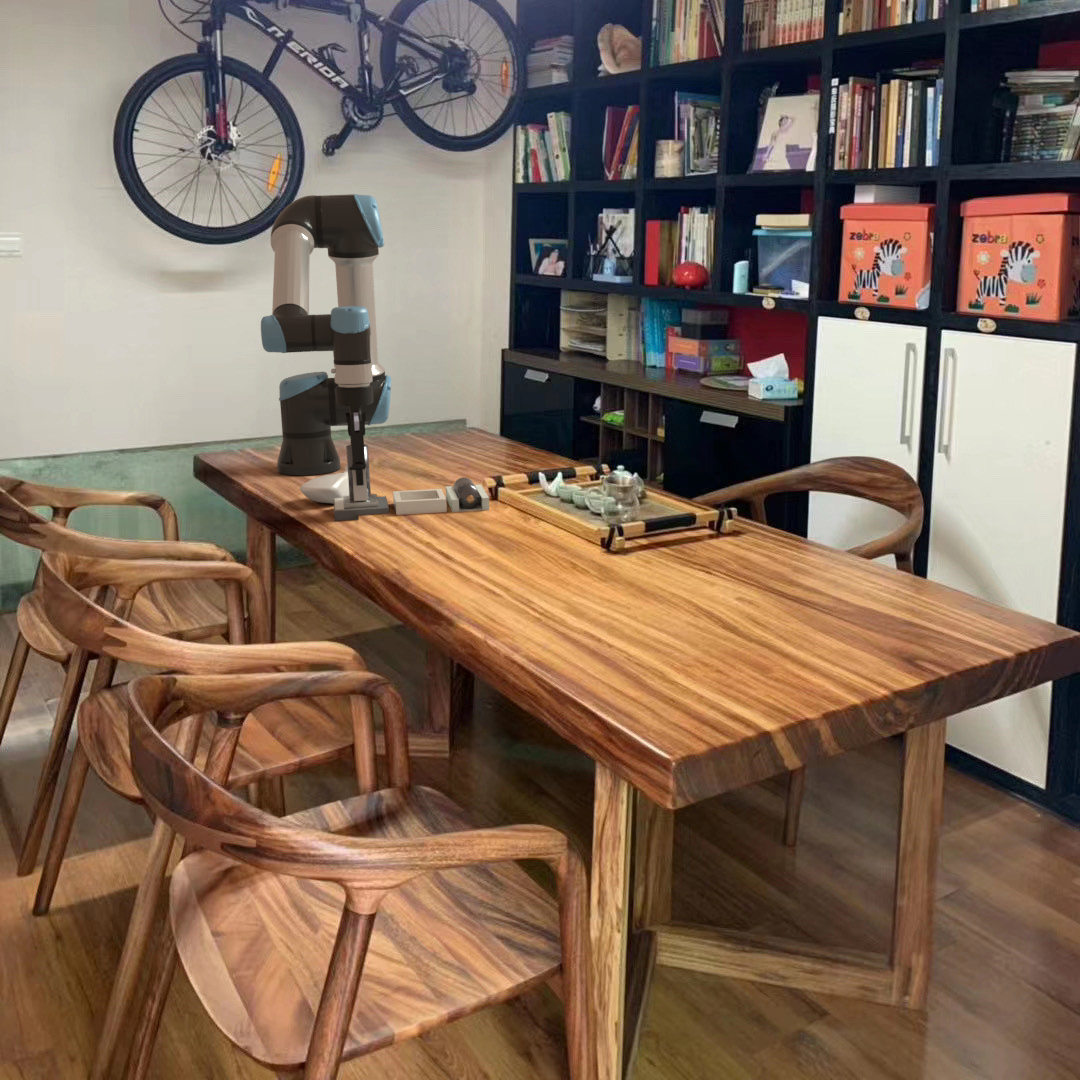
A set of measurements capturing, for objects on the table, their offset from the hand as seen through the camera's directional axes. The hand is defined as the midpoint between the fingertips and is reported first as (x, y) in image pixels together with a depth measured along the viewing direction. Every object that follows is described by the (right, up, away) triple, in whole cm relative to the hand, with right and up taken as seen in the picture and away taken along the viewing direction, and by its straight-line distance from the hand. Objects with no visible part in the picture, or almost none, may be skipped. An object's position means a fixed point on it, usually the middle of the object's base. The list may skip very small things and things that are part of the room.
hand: (360, 497), depth 248 cm
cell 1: (0, 0, 0) cm, 0 cm away
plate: (0, -1, 0) cm, 1 cm away
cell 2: (+22, -1, +3) cm, 22 cm away
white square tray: (+12, -3, +1) cm, 13 cm away
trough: (+22, -2, +4) cm, 22 cm away
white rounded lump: (-9, -1, +12) cm, 15 cm away
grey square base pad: (0, -3, +1) cm, 3 cm away
